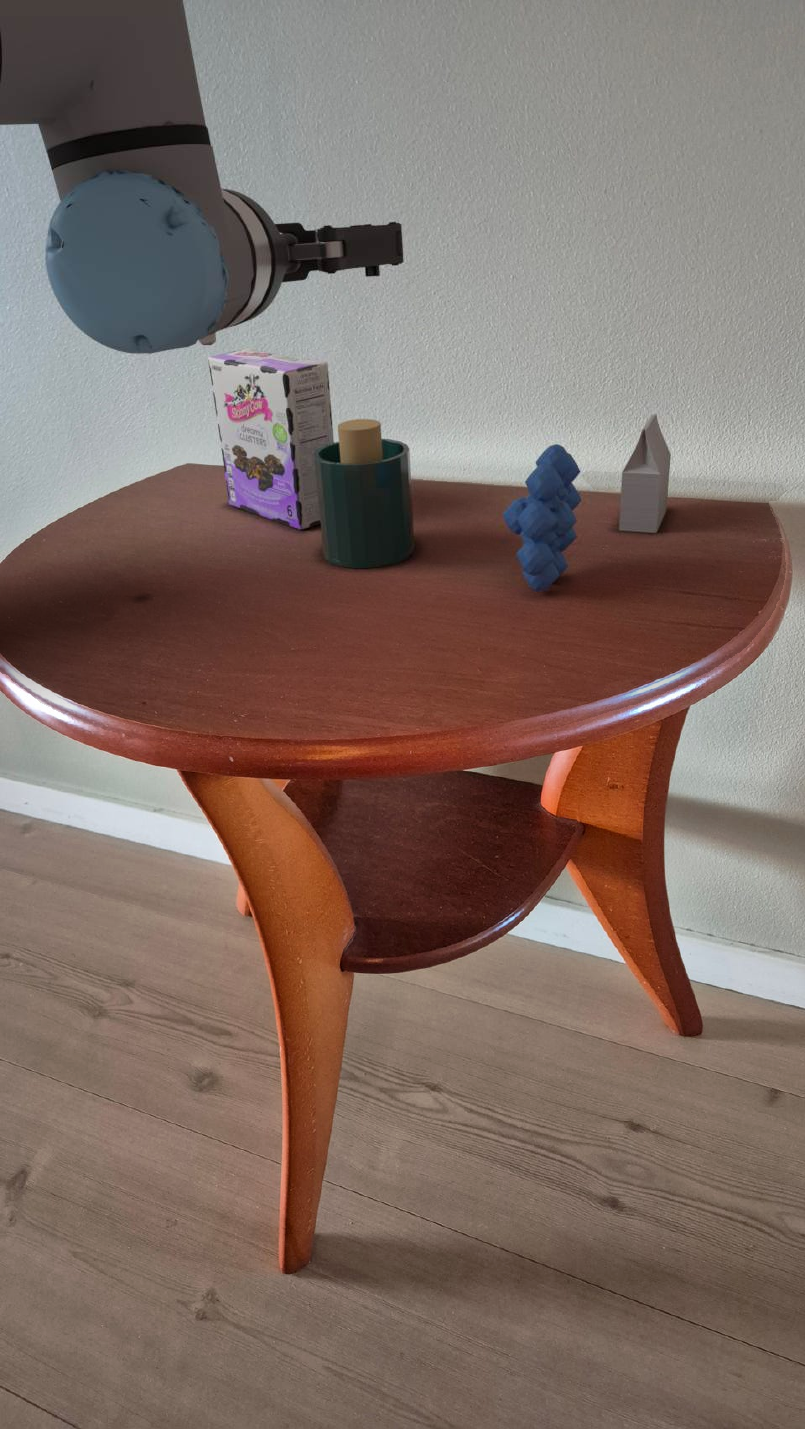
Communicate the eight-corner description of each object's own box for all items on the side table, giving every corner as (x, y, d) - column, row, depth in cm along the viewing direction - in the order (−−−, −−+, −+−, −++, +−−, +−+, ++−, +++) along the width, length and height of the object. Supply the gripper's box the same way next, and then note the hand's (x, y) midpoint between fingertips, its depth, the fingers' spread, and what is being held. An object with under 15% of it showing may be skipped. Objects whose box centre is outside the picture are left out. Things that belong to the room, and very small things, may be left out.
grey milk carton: (666, 511, 103) (674, 414, 98) (656, 533, 98) (664, 431, 93) (630, 508, 105) (636, 412, 100) (618, 530, 99) (624, 430, 94)
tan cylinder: (344, 553, 97) (333, 430, 90) (352, 539, 100) (342, 419, 94) (384, 554, 96) (376, 429, 90) (391, 539, 99) (383, 418, 93)
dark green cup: (314, 568, 95) (303, 465, 90) (334, 535, 103) (325, 438, 98) (406, 568, 94) (400, 464, 89) (420, 535, 101) (415, 437, 96)
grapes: (522, 554, 95) (522, 428, 89) (591, 561, 93) (596, 432, 87) (481, 601, 86) (479, 465, 80) (557, 610, 84) (560, 470, 78)
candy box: (226, 505, 113) (204, 355, 105) (268, 493, 117) (250, 346, 108) (300, 531, 104) (282, 369, 96) (343, 517, 107) (329, 359, 99)
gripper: (18, 342, 60) (132, 314, 79) (428, 315, 57) (444, 293, 76) (-13, 204, 57) (114, 209, 76) (420, 168, 54) (439, 183, 73)
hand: (280, 251), depth 76 cm, fingers open, 13 cm apart
